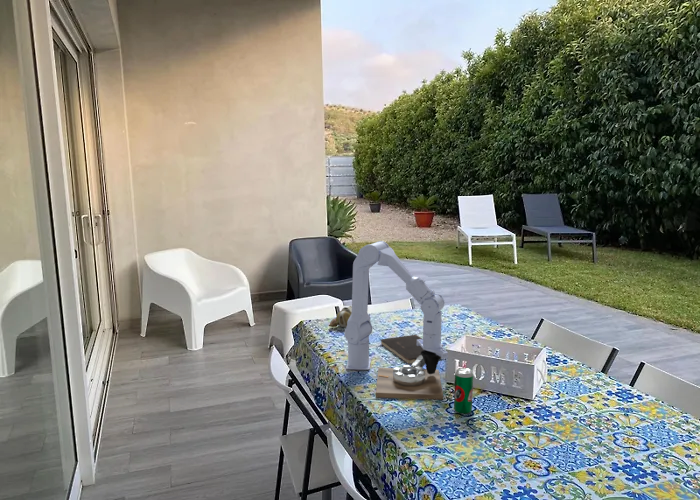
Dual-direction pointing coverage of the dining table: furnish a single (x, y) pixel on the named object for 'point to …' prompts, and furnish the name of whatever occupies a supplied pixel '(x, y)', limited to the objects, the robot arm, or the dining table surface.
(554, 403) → the dining table surface
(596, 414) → the dining table surface
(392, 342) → the hardcover book
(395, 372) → the silver mechanical part
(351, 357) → the robot arm
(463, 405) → the soda can
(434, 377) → the walnut board
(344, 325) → the ceramic sculpture
